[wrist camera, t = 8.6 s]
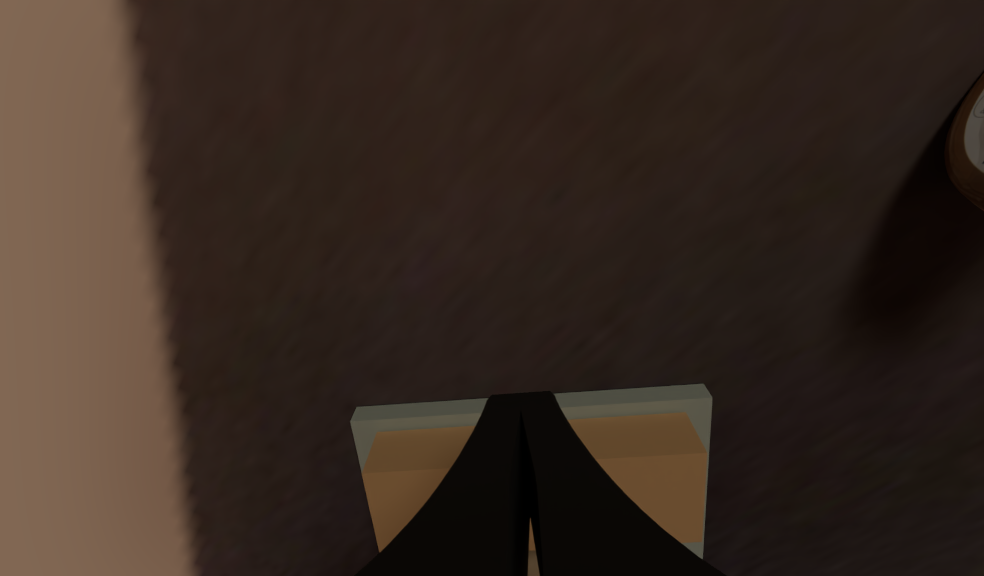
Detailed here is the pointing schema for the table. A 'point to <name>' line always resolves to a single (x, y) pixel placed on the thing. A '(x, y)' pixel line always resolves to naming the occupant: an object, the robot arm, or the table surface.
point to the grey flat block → (572, 405)
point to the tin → (968, 146)
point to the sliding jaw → (611, 441)
